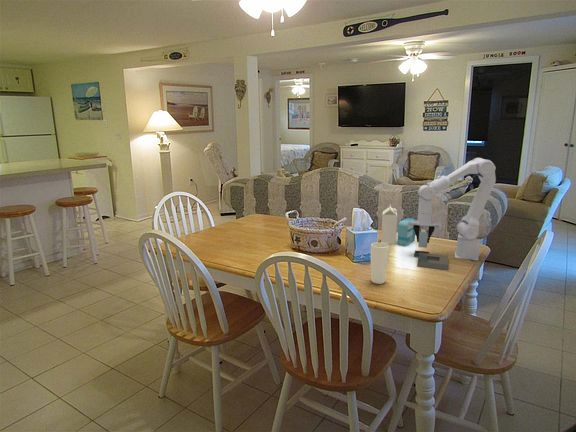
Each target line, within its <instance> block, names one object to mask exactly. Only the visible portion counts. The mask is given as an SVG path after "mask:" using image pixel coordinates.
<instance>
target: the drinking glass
mask: <svg viewBox="0 0 576 432" xmlns="http://www.w3.org/2000/svg"><path fill="white" fill-rule="evenodd" d="M389 253H390V244H386V243H382V242H381V241H380V242H379V241H376V242H373V243H371V244H370V273H371V274H370V275H371V278H370V279H371V282H372V283H373V284H378V285H382V284H385V282H386V279H387V277H386V275H387V269H388V264H389V256H390V255H389Z"/></svg>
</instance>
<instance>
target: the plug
mask: <svg viewBox="0 0 576 432" xmlns="http://www.w3.org/2000/svg"><path fill="white" fill-rule="evenodd" d="M427 239H428V229H427V227H423V226H421V229H419V242H418V248H426V249H427V248H428V243H427Z"/></svg>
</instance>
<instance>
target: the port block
mask: <svg viewBox="0 0 576 432" xmlns="http://www.w3.org/2000/svg"><path fill="white" fill-rule="evenodd" d="M416 264H417V265H416V266H417V267H418V268H426V269H427V268H428V269H434V270H435V269H437V270H443V271H444V270H445V271H448V270H449V255H446V254H436V253H430V254H429V253H420V252H419V257H417V262H416Z"/></svg>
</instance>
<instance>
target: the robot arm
mask: <svg viewBox="0 0 576 432" xmlns="http://www.w3.org/2000/svg"><path fill="white" fill-rule="evenodd" d="M496 169H497V167H496V165H495V163H493V160H492V161H491V160H490V159H484V158H483V157H475V158H473V159H472V160H469V161H467V162H466V163H465V164H464V165H462V166H459V168H457V169H456V170H454V171H453V172H451V173H450V174H447V175H441V176H440V175H438V176H436V179H433V180H431V181H428V182H427V183H426V184H423V185H421V186H420V187H419V188H418V190H417V195H418V196H419V197H418V208H417V209H418V212H417V220H416V221H407V226H414V227H413V229H414V231H415V238H416V242H417V243H419V231H420V230H421V229H420V227H425V228H428V229H427V230H428V239H427V244H429V243H430V240H431V239H430V238H431V237H432V235H433V233H434V231H435V229H436V228H438V229H442V226H443V223H442V222H437V221H432V215H433V199H434V198H435V196H436V195H438V194H439V193H441V192H443V191H445V190H447V189H448V188H450V186H451V184H452V183H453V182H455V181H457V180H460V179H461V178H463V177H465V176H467V175H477V177H478V179H479V180H480V183H479V185H478V188H477V190H476V193H475V195H474V197H473V199H472V201H471V204H470V206H469V208H468V210H467V212H466V215H464V216H463V217H462V218H461V220H460V221H459V222H458V223H457V225H456V232H457V233H458V235H457V239H456V241H457V242H456V249H455V251H454V257H455V258H456V259H457V258H458V259H466V260H471V261H479V257H480V253H481V252H480V248H481V238H477V237H478V236H479V228H480V218H481V216H482V213H483V211H484V209H485V206H486V204H487V202H488V199H489V197H490V195H491V193H492V192H493V191H492V190H493V189H494V186H495V184H496V182H497V181H496V180H497V177H496Z"/></svg>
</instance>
